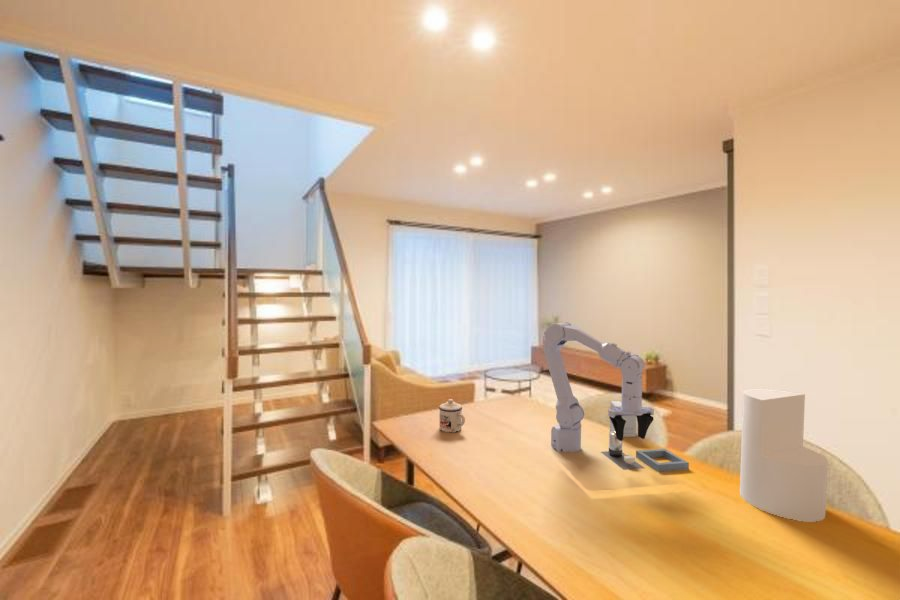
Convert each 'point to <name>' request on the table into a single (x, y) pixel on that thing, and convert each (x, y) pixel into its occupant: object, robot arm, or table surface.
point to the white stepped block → (780, 457)
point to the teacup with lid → (451, 416)
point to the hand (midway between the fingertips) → (630, 438)
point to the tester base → (622, 462)
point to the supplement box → (630, 421)
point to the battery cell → (614, 445)
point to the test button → (629, 459)
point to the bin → (666, 466)
